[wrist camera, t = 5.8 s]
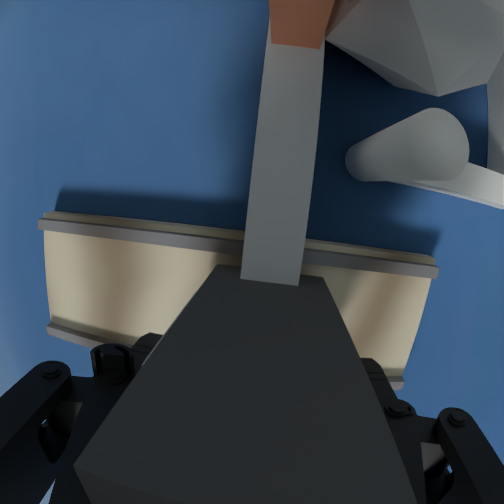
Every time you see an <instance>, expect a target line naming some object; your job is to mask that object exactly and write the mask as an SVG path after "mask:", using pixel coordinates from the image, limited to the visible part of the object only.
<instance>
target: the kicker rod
mask: <svg viewBox="0 0 504 504" xmlns="http://www.w3.org/2000/svg"><path fill="white" fill-rule="evenodd" d="M334 1H335V0H269V10H270V19H269V27H268V36H267V44H266V52H265V61H264V69H263V77H262V86H261V94H260V103H259V112H258V120H257V129H256V138H255V147H254V156H253V165H252V174H251V183H250V192H249V201H248V210H247V219H246V229H245V238H244V248H243V257H242V267H236V266H228V265H221V264H217V265H216V266H215V268H214V269H213V270H212V272H211V273H210V274H209V276H208V277H207V278H206V280H205V281H204V282H203V284H202V285H201V286H200V288H199V289H198V291H197V292H196V293H195V295H194V296H193V297H192V299H191V300H190V301H189V303H188V304H187V305H186V307H185V308H184V309H183V311H182V312H181V314H180V315H179V316H178V318H177V319H176V320H175V322H174V323H173V325H172V326H171V327H170V329H169V330H168V331H167V333H166V334H165V335H164V337H163V338H162V340H161V341H160V342H159V344H158V345H157V347H156V348H155V349H154V351H153V352H152V353H151V355H150V356H149V358H148V359H147V360H146V362H145V363H144V365H143V366H142V367H141V369H140V370H139V372H138V373H137V374H136V376H135V377H134V379H133V380H132V381H131V383H130V384H129V386H128V387H127V388H126V390H125V391H124V393H123V394H122V395H121V397H120V398H119V400H118V401H117V403H116V404H115V405H114V407H113V408H112V410H111V411H110V413H109V414H108V415H107V417H106V418H105V420H104V421H103V423H102V424H101V425H100V427H99V428H98V430H97V431H96V433H95V434H94V436H93V437H92V438H91V440H90V441H89V443H88V444H87V446H86V447H85V449H84V450H83V452H82V453H81V454H80V456H79V457H78V459H77V460H76V462H75V463H74V465H73V466H74V469H75V471H76V473H77V475H78V477H79V480H80V482H81V484H82V486H83V488H84V490H85V492H86V494H87V496H88V498H89V500H90V502H91V503H92V504H417V501H416V498H415V495H414V492H413V489H412V486H411V484H410V481H409V478H408V475H407V472H406V470H405V467H404V464H403V462H402V459H401V456H400V454H399V451H398V448H397V446H396V443H395V441H394V438H393V435H392V433H391V430H390V428H389V425H388V423H387V420H386V418H385V415H384V413H383V410H382V408H381V406H380V403H379V401H378V398H377V396H376V394H375V391H374V389H373V386H372V384H371V382H370V379H369V377H368V375H367V372H366V370H365V368H364V365H363V363H362V361H361V359H360V356H359V354H358V352H357V349H356V347H355V345H354V343H353V340H352V338H351V336H350V334H349V332H348V329H347V327H346V325H345V323H344V321H343V319H342V316H341V314H340V312H339V310H338V308H337V306H336V303H335V301H334V299H333V297H332V295H331V293H330V291H329V289H328V287H327V285H326V282H325V280H324V278H323V277H318V276H309V275H301V274H300V271H301V264H302V258H303V251H304V244H305V237H306V230H307V222H308V215H309V207H310V199H311V191H312V182H313V174H314V165H315V155H316V146H317V136H318V126H319V115H320V103H321V91H322V78H323V63H324V47H325V30H326V27H327V24H328V21H329V18H330V14H331V11H332V8H333V5H334Z"/></svg>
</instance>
